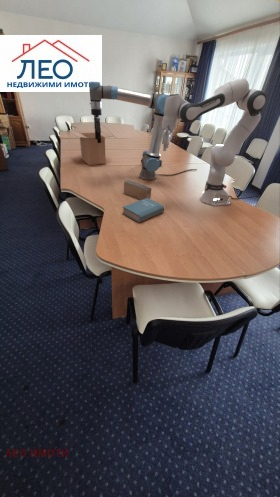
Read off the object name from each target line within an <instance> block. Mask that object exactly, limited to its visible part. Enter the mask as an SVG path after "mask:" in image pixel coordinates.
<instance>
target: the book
mask: <svg viewBox="0 0 280 497" xmlns="http://www.w3.org/2000/svg"><path fill="white" fill-rule="evenodd" d="M122 210H123V212H122V215H124V216H126V217H128V218H129V219H131V220H133V221H135V222H137V223H138V224H139V223H142V222H144V221H146V220H148V219H150V218H153V217H155V216H157V215H160V214H162V213H164V212H165V205H163V204H161V203H159V202H157V201H155V200H152V198H150V199H148V198H146V199H143V200H137V201H134V202H132V203H129V204H126V205H124V206H122Z"/></svg>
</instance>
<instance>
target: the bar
mask: <svg viewBox="0 0 280 497" xmlns="http://www.w3.org/2000/svg"><path fill="white" fill-rule="evenodd" d="M123 194H124V195H127V196H129V197H131V198H134V199H137V200H138V201H140V200H143V199H146V198H148V199H152V198H151V197H152V187H150V186H147V185H144V184H141V183H139V182H135V181H133V180H131V179H127V180H124V181H123Z"/></svg>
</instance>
